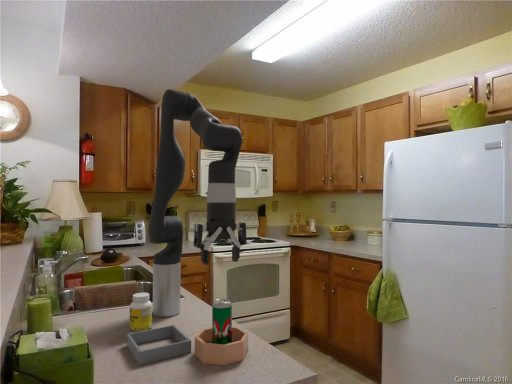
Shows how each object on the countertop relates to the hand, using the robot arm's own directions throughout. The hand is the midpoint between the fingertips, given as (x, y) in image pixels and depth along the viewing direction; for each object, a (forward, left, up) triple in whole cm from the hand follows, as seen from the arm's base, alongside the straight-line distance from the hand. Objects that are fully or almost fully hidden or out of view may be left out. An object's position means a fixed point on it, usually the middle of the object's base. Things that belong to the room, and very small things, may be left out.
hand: (220, 262), depth 91 cm
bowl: (+2, 0, -23) cm, 23 cm away
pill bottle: (-23, -14, -23) cm, 36 cm away
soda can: (+2, 0, -22) cm, 22 cm away
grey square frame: (-9, -13, -23) cm, 28 cm away
